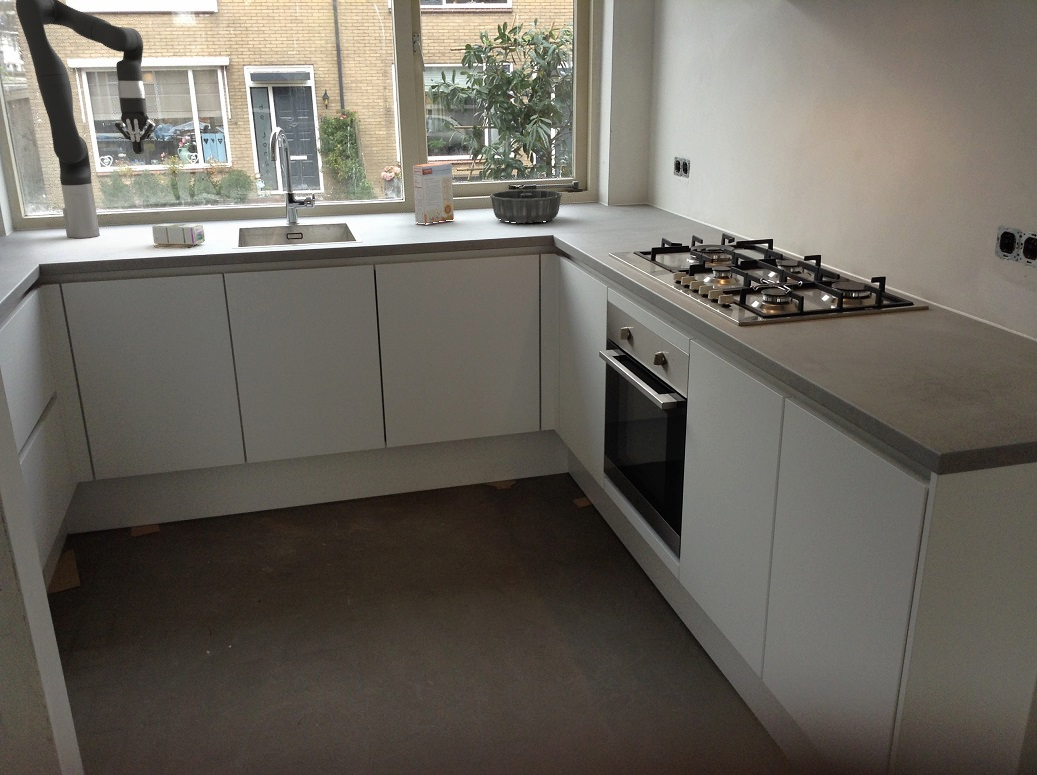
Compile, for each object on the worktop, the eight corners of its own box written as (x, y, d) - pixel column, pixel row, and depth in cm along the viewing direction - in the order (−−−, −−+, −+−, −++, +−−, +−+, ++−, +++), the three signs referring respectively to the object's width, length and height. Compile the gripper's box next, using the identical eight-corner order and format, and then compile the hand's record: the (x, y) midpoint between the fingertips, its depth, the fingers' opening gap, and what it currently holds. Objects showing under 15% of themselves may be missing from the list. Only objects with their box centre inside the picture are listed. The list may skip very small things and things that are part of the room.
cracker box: (443, 219, 334) (441, 162, 328) (454, 221, 331) (452, 163, 324) (414, 224, 325) (411, 164, 318) (425, 225, 321) (422, 165, 314)
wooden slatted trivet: (153, 247, 282) (153, 245, 282) (170, 241, 293) (170, 239, 293) (189, 247, 281) (189, 246, 281) (205, 241, 292) (204, 239, 292)
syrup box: (153, 244, 285) (196, 245, 282) (151, 225, 283) (194, 227, 280) (163, 241, 290) (205, 242, 287) (161, 222, 288) (203, 224, 285)
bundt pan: (512, 229, 314) (512, 199, 311) (477, 219, 336) (477, 192, 332) (576, 222, 326) (576, 194, 323) (538, 214, 348) (538, 187, 345)
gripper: (105, 96, 277) (113, 154, 283) (146, 96, 276) (153, 155, 281) (118, 96, 284) (125, 152, 290) (158, 96, 283) (164, 153, 289)
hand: (139, 153), depth 286 cm, fingers closed
